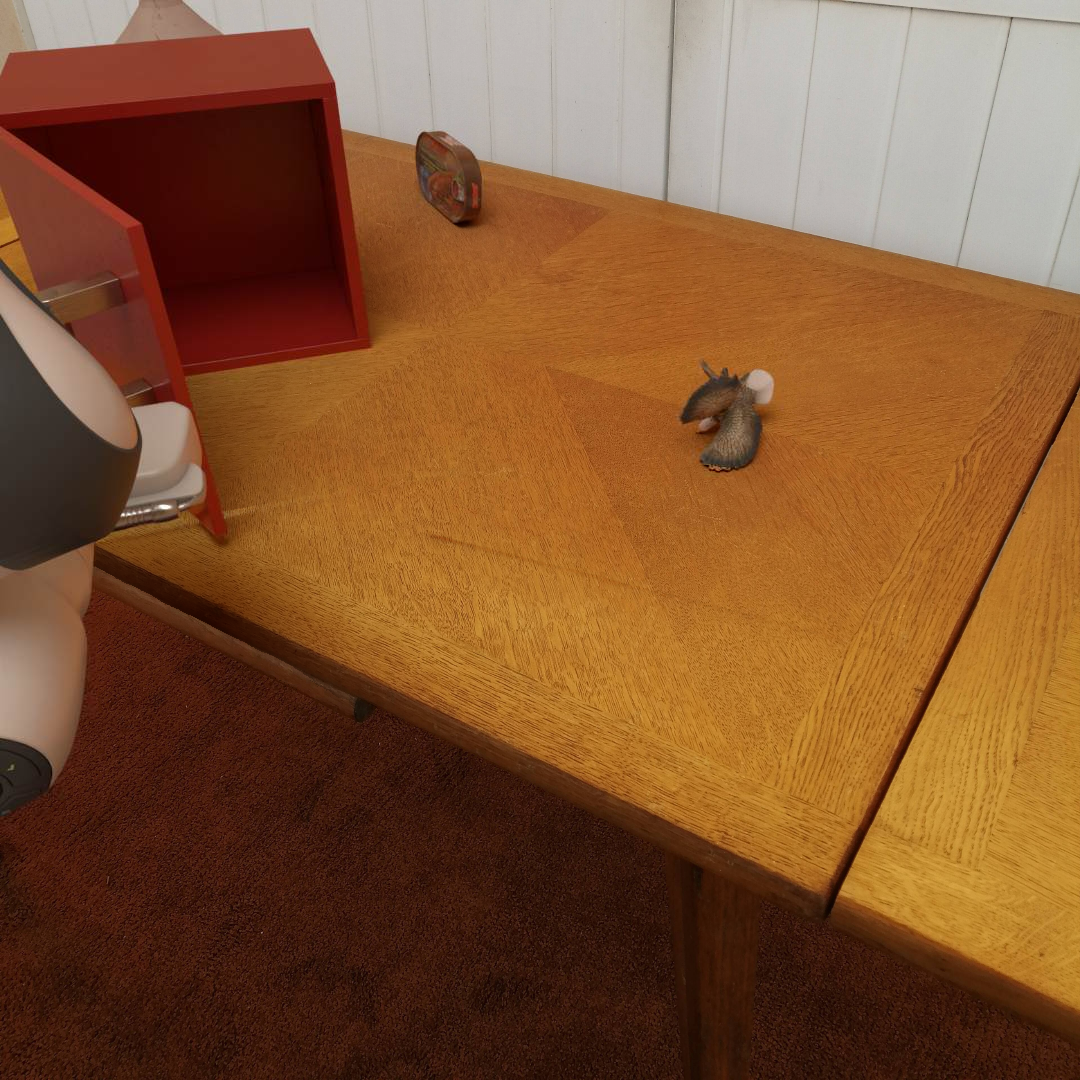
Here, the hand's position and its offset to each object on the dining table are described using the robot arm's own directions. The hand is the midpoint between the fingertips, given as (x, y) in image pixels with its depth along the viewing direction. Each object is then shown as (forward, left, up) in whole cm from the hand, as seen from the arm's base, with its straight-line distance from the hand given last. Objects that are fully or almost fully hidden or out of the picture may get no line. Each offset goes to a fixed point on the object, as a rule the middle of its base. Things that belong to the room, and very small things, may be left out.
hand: (25, 409), depth 62 cm
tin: (+39, +59, -15) cm, 72 cm away
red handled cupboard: (+1, +14, -15) cm, 20 cm away
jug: (+10, +83, -15) cm, 85 cm away
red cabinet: (+11, +37, -15) cm, 41 cm away
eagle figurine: (+50, +4, -15) cm, 52 cm away
